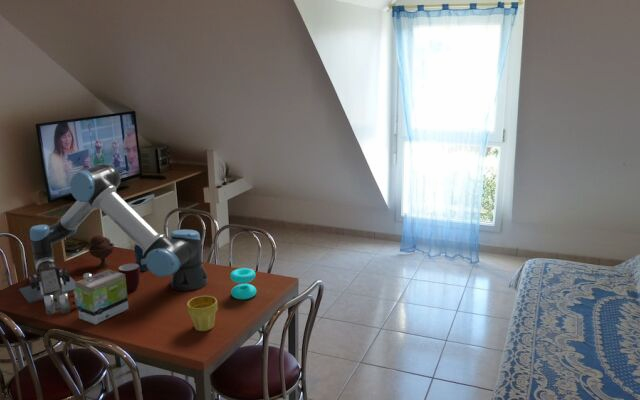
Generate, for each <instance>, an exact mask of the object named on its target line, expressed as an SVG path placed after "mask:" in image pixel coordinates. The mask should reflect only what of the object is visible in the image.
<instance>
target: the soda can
mask: <svg viewBox="0 0 640 400" xmlns="http://www.w3.org/2000/svg"><path fill="white" fill-rule="evenodd" d="M134 245H135V246H134V256H135V264H138V265H139V268H140V271H149V269H148V268H147V266H146V265H147V263H146V262H145V260H146V258H145V257H144V256H143V249H142V248H141V247H139V246H138V245H137V244H136V243H135V242H134Z"/></svg>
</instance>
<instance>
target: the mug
mask: <svg viewBox="0 0 640 400" xmlns="http://www.w3.org/2000/svg"><path fill="white" fill-rule="evenodd" d="M118 272H119V273H123V274H125V276H126V287H127V293H128V292H135V291H137V290H138V287H139V284H140V278H141V277H140V276H141V270H140V268H139V265H138V264H136V262H134V263H133V262H132V263H131V262H130V263H125V264H122V265H120V266H119V267H118Z"/></svg>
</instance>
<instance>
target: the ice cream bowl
mask: <svg viewBox="0 0 640 400" xmlns="http://www.w3.org/2000/svg"><path fill="white" fill-rule="evenodd" d="M89 243H90V246H88V252H89V254H90V255H92V256H93V257H94V258H97V259H100V263H99V264H97V268H98V269H106V267H107V268H109V267H110V266H111V264H110V263H109V262H106V258H107V257H109V256H110V255H111V254H112V253H113V252H114V247H115V246H114V245H115V244H114V243H112V242H111V239H110V238H108V237H106V236H102V235H101V234H96V235H93V236H92V237H91V239H90V241H89ZM108 266H109V267H108Z"/></svg>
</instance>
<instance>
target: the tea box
mask: <svg viewBox="0 0 640 400" xmlns="http://www.w3.org/2000/svg"><path fill="white" fill-rule="evenodd" d="M75 285H76V295H77V303H78V309H77V311H78V318H79V319H80V320H83V321H85V322H88V323H91V324H93V325H98V324H99V323H101V322H103V321H105V320H108V319H110V318H112V317H114V316H116V315H118V314H121V313H123V312H125V310H126V311H128V310H129V300H128V298H129V297H128V291H127V287H126V276H125V274H123V273H119V271H116V270H112V269H106V270H103V271H101V272H97V273H95V274H92V276H90V277H88V278H85V279H84V278H83V279H80V280H78V281H75ZM127 309H128V310H127Z"/></svg>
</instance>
